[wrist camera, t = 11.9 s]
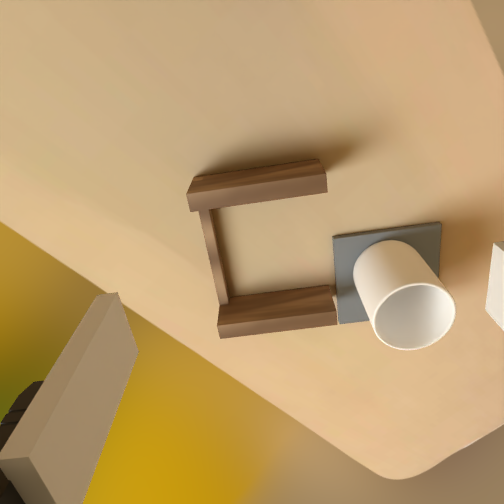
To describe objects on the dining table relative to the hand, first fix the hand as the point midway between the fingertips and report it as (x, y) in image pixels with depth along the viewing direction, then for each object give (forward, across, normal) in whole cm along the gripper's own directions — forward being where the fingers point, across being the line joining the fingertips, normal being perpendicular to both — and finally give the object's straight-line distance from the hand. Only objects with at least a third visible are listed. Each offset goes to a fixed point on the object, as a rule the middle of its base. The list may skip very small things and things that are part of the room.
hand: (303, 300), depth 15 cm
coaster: (+35, +12, -21) cm, 42 cm away
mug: (+34, +13, -21) cm, 42 cm away
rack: (+35, -2, -14) cm, 37 cm away
